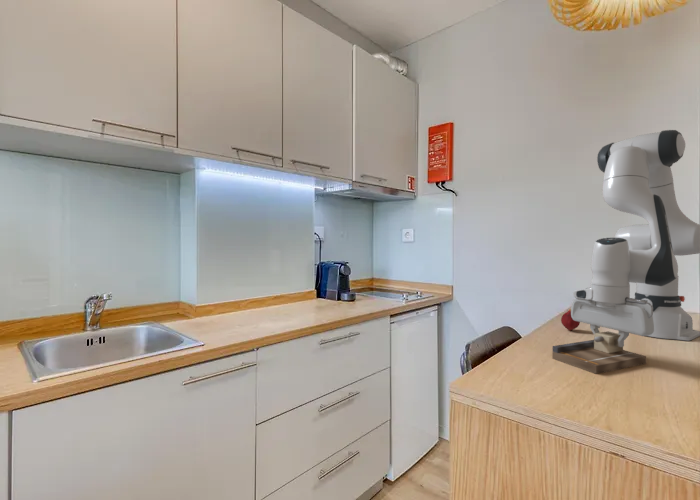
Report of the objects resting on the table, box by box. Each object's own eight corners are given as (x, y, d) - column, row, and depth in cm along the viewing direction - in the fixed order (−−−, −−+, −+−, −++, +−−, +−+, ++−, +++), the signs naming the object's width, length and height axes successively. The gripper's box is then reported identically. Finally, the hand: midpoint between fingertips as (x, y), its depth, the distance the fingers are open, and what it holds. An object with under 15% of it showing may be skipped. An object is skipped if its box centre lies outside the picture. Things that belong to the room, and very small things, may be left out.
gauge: (612, 345, 101) (612, 330, 101) (627, 349, 98) (627, 334, 98) (589, 349, 98) (589, 334, 98) (603, 354, 94) (604, 337, 94)
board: (600, 350, 104) (600, 338, 104) (646, 363, 93) (646, 350, 93) (552, 358, 97) (552, 346, 97) (596, 373, 86) (596, 360, 86)
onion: (582, 333, 123) (583, 311, 123) (564, 332, 124) (565, 310, 124) (575, 329, 129) (575, 307, 128) (558, 328, 130) (558, 307, 130)
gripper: (660, 300, 89) (659, 353, 89) (582, 289, 108) (581, 333, 108) (645, 302, 86) (643, 356, 87) (567, 290, 106) (567, 335, 106)
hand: (608, 343), depth 98 cm, fingers closed on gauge, 4 cm apart
